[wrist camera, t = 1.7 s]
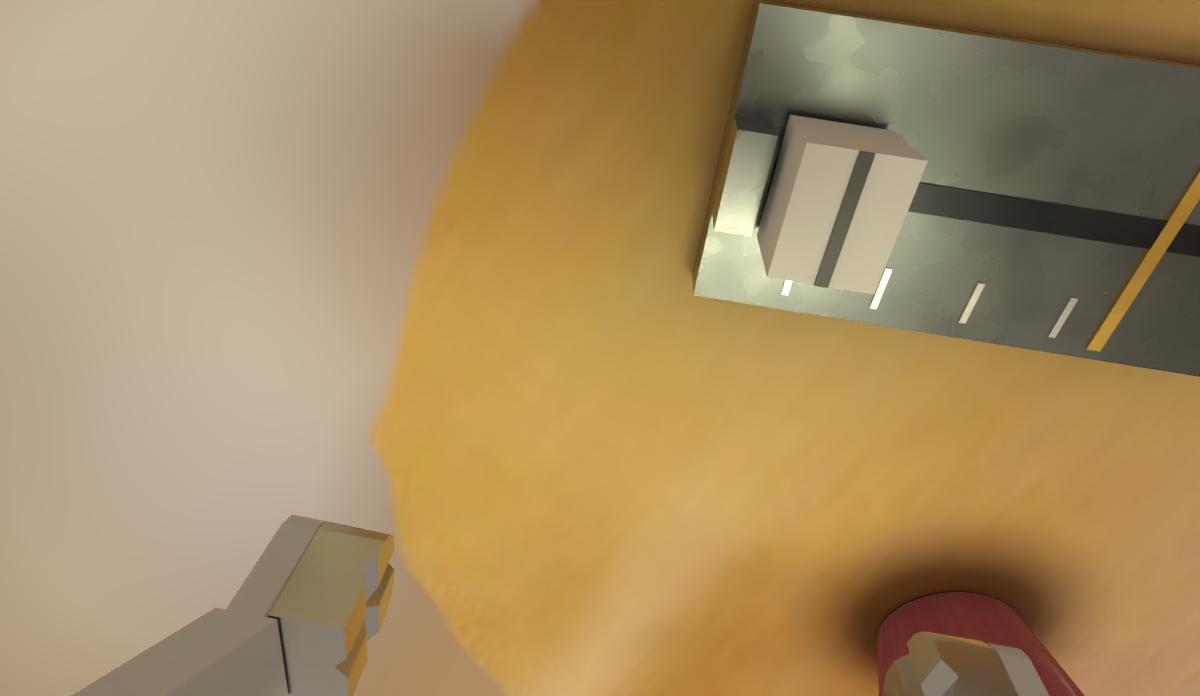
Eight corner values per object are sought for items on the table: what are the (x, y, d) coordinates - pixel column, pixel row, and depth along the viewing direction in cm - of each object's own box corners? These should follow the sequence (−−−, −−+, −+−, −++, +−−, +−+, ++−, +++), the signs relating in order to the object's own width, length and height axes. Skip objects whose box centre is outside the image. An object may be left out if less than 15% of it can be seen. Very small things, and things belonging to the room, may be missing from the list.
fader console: (1386, 93, 24) (1499, 117, 21) (1190, 355, 31) (1252, 406, 28) (754, -2, 25) (766, 8, 22) (692, 276, 31) (693, 316, 28)
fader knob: (894, 130, 25) (928, 161, 21) (850, 250, 27) (875, 295, 24) (790, 114, 25) (807, 143, 21) (756, 235, 27) (767, 278, 24)
